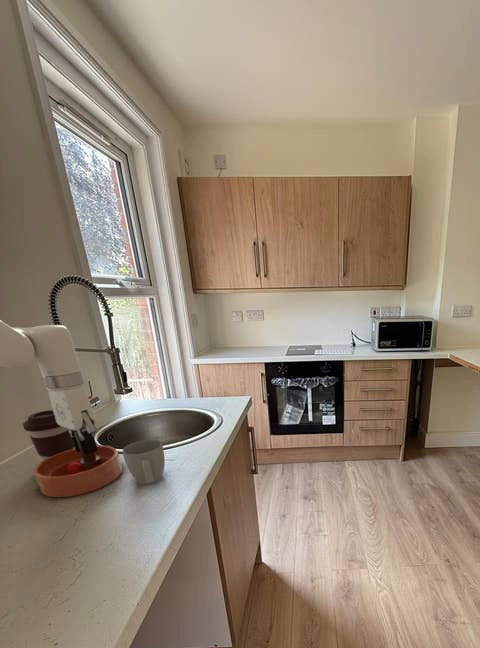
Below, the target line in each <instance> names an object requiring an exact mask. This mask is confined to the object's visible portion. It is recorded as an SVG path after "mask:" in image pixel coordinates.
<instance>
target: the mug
mask: <svg viewBox="0 0 480 648" xmlns="http://www.w3.org/2000/svg"><path fill="white" fill-rule="evenodd" d="M122 456H123V459H124V463H125V465H126V467H127V469H128V471H129V473H130V475H131V476H132V477H133V478H134V479H135V481H136V482H137V483H138V484H140V485H143V486H144V485H151V484H155V483H157V482H159V481H160V480H162V478H163V475H164V471H165V465H166V461H165V459H166V458H165V451H164V446H163V442H162V441H160V440H158V439H142V440H137V441H135V442H132V443H129V444H127V445H126V446H124V447H123V449H122Z"/></svg>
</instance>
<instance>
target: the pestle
mask: <svg viewBox="0 0 480 648" xmlns="http://www.w3.org/2000/svg"><path fill="white" fill-rule="evenodd" d="M85 430H86V429H84V430H82V432H83V431H85ZM74 434H75V437H76V440H77V443H78V446H79V449H80V452H81V455H82V458H83V459H82V460H81V461H80V464H81V467H82V470H83V471H87V470H90V469H92V468H95V467H97V466H100V465H102V463H101V459H100V457H99V456H95V452H93V453H90V454H87V455H84V454H83V452H82V449H81V445H80V442H79V440H81V439H80V437H79V434H78V432H77V431H75V432H74Z"/></svg>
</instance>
